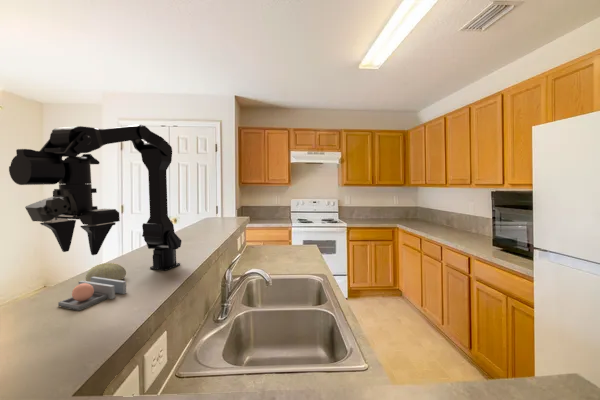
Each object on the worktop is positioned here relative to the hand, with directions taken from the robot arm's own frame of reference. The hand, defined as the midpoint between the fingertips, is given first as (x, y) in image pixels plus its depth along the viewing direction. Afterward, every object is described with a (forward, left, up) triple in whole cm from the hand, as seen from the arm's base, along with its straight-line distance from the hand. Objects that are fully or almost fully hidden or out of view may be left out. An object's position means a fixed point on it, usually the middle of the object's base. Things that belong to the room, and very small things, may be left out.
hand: (79, 253), depth 64 cm
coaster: (0, 0, -12) cm, 12 cm away
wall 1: (-4, -1, -12) cm, 12 cm away
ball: (0, 0, -11) cm, 11 cm away
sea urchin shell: (-12, -8, -12) cm, 19 cm away
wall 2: (-7, -1, -12) cm, 14 cm away
